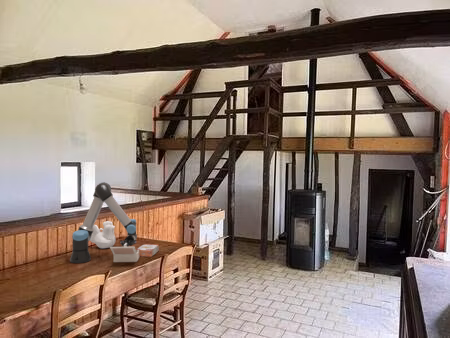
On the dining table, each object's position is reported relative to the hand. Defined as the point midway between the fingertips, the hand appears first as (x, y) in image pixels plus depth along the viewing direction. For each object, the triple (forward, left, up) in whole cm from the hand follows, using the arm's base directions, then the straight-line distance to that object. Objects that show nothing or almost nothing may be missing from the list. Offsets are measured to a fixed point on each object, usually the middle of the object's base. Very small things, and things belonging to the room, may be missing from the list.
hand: (124, 246), depth 267 cm
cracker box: (+37, +27, -11) cm, 47 cm away
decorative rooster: (+8, +66, -14) cm, 68 cm away
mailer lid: (0, +3, -4) cm, 4 cm away
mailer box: (+8, +13, -14) cm, 21 cm away
